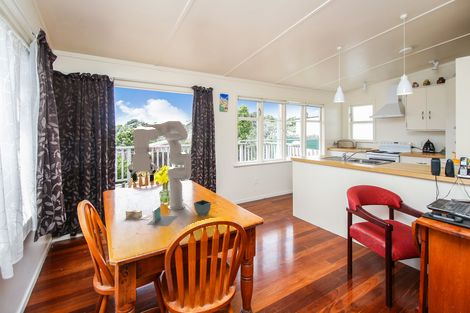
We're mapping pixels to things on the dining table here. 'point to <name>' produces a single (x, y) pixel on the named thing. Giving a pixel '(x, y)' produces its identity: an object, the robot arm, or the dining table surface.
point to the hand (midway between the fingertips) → (143, 181)
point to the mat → (163, 221)
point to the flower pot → (202, 207)
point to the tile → (156, 214)
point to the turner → (137, 215)
